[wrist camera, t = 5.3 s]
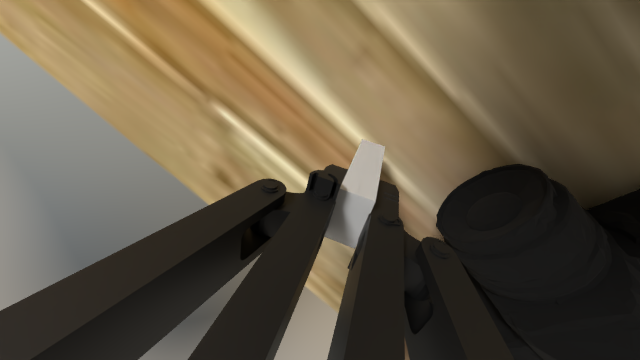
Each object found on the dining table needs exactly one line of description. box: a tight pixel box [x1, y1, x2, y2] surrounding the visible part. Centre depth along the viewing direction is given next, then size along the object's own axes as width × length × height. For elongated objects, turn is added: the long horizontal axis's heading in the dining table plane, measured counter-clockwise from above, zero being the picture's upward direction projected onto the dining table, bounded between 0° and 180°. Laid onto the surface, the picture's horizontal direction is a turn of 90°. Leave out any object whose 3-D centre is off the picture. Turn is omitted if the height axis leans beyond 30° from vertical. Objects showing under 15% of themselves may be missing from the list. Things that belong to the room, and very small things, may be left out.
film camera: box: [436, 164, 640, 360], centre depth 12 cm, size 15×10×9 cm, turn 137°
